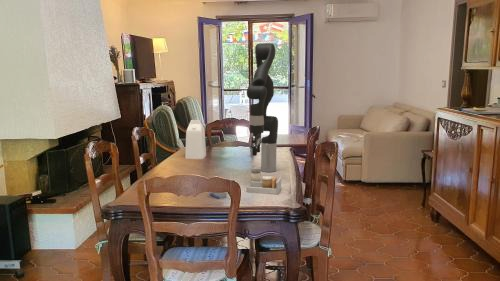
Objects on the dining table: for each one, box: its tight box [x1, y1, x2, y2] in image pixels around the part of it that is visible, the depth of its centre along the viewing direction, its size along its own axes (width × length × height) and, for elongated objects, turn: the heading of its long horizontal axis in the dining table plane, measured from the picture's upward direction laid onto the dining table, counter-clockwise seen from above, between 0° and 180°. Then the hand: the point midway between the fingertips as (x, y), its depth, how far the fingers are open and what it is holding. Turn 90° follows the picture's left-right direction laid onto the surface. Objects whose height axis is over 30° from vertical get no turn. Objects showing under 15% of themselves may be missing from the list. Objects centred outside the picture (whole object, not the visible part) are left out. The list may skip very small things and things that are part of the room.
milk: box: [184, 119, 207, 160], centre depth 276 cm, size 12×12×26 cm
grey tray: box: [246, 176, 282, 195], centre depth 202 cm, size 11×16×6 cm
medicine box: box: [209, 192, 227, 200], centre depth 191 cm, size 8×4×9 cm, turn 45°
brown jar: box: [261, 175, 273, 188], centre depth 201 cm, size 5×5×7 cm
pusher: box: [272, 176, 278, 189], centre depth 201 cm, size 8×1×6 cm, turn 167°
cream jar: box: [250, 168, 262, 182], centre depth 215 cm, size 5×5×7 cm
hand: (256, 153), depth 212 cm, fingers open, 8 cm apart
